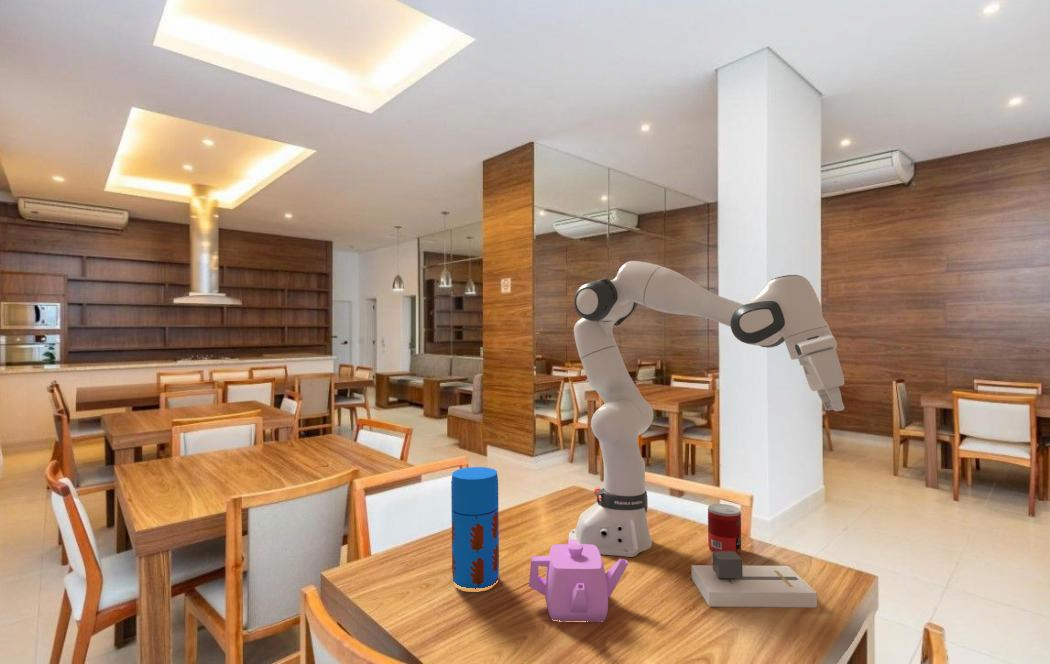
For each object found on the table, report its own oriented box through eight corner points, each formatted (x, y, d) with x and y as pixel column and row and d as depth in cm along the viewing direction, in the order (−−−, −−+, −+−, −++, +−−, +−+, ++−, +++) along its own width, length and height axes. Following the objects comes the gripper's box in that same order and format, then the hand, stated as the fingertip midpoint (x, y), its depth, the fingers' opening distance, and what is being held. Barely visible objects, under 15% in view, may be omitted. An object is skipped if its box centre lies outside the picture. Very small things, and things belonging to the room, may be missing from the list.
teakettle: (571, 577, 116) (571, 524, 116) (633, 605, 104) (632, 546, 104) (519, 605, 105) (518, 546, 105) (581, 640, 92) (581, 573, 92)
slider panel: (709, 606, 103) (708, 591, 103) (691, 578, 115) (691, 564, 115) (817, 607, 102) (816, 592, 102) (788, 578, 114) (788, 565, 114)
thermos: (507, 575, 117) (506, 469, 117) (484, 597, 108) (483, 481, 108) (467, 566, 122) (466, 464, 122) (442, 587, 112) (441, 476, 112)
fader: (719, 580, 107) (718, 559, 107) (712, 571, 111) (712, 551, 111) (742, 580, 107) (742, 559, 107) (735, 572, 111) (735, 551, 111)
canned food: (744, 558, 125) (743, 514, 125) (710, 555, 127) (710, 512, 127) (737, 545, 133) (737, 504, 133) (706, 543, 134) (705, 502, 134)
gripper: (790, 354, 116) (811, 413, 113) (800, 345, 97) (826, 415, 94) (819, 347, 114) (842, 406, 111) (836, 336, 95) (863, 407, 92)
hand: (835, 410), depth 102 cm, fingers open, 8 cm apart
